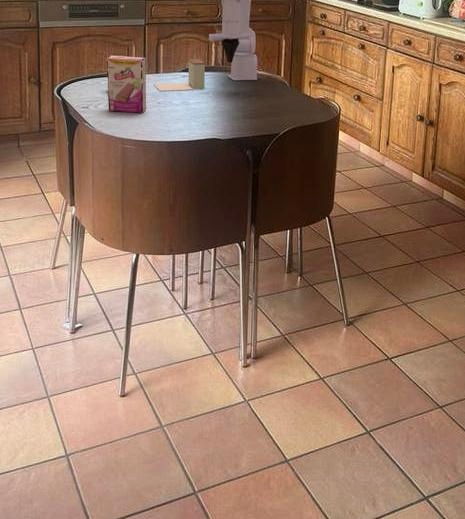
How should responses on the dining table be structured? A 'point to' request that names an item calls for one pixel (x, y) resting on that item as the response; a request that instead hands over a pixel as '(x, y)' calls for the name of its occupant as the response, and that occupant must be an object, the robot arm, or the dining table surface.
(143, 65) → the candy bar box
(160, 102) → the dining table surface
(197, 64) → the sage block
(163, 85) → the mat
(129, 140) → the dining table surface
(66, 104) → the dining table surface
